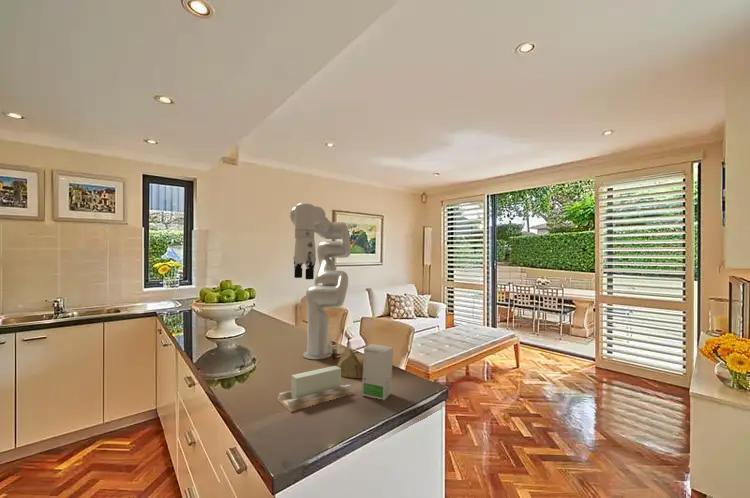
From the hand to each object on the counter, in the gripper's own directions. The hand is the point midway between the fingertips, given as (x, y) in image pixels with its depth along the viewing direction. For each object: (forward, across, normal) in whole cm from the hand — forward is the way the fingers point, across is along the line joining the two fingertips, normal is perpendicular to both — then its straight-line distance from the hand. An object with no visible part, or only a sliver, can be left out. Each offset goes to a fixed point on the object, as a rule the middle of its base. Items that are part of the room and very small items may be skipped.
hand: (303, 278), depth 133 cm
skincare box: (+36, -35, -10) cm, 52 cm away
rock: (+37, -15, -12) cm, 41 cm away
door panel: (+35, -25, +7) cm, 44 cm away
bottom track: (+36, -25, +7) cm, 45 cm away
